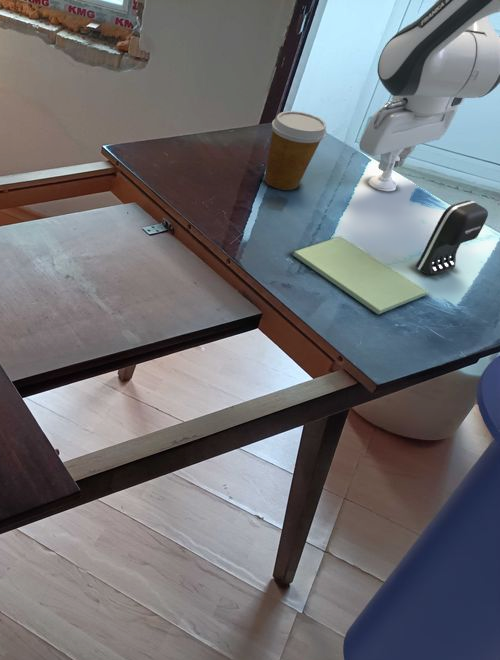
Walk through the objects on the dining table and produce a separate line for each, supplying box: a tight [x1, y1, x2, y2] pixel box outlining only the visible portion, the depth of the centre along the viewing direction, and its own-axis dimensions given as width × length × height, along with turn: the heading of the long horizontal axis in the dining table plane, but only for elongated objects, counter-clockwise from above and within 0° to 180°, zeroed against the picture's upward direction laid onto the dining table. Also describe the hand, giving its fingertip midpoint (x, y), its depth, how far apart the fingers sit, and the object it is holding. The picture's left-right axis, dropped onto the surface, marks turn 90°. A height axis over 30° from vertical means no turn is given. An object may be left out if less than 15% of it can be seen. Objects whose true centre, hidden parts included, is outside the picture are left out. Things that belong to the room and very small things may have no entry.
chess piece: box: [368, 149, 404, 192], centre depth 128 cm, size 5×5×10 cm
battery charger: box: [415, 200, 489, 277], centre depth 106 cm, size 7×4×11 cm, turn 118°
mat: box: [292, 236, 428, 315], centre depth 107 cm, size 17×11×1 cm, turn 30°
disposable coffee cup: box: [263, 110, 327, 191], centre depth 126 cm, size 10×10×12 cm
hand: (389, 167), depth 129 cm, fingers closed on chess piece
